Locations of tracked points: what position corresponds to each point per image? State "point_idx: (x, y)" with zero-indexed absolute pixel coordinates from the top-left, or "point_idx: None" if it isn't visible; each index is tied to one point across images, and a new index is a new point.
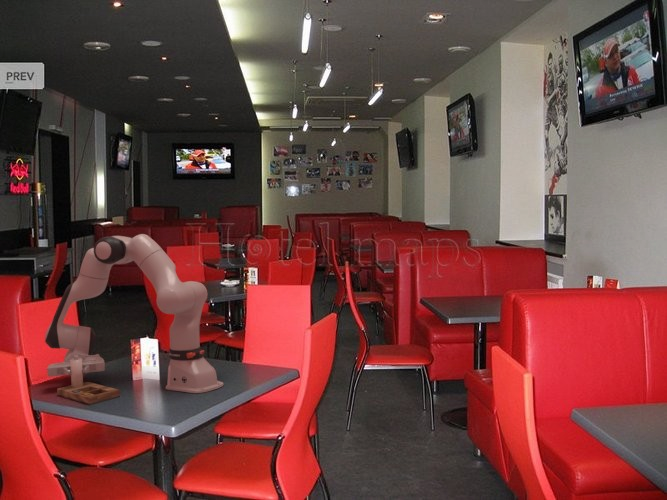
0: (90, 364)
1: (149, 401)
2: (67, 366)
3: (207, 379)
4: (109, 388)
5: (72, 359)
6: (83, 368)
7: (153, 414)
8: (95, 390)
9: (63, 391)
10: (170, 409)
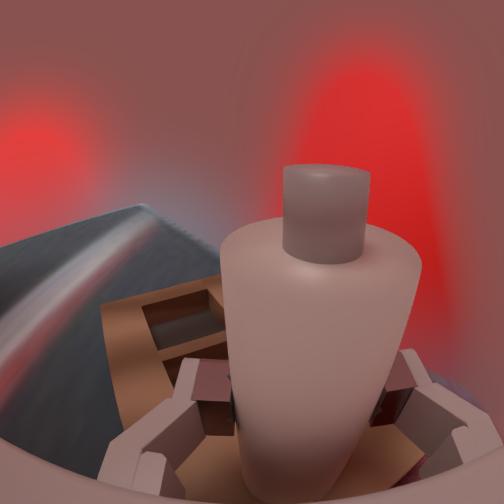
0: (70, 472)
1: (80, 272)
2: (472, 458)
3: None
4: (117, 335)
5: (398, 267)
6: (215, 378)
7: (130, 227)
8: (185, 344)
9: None
10: (93, 235)
